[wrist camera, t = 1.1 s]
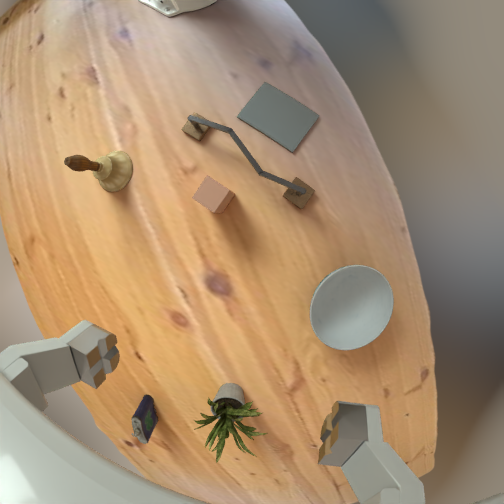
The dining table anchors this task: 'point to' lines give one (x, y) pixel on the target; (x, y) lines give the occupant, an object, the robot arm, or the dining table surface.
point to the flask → (144, 419)
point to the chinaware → (351, 307)
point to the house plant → (229, 417)
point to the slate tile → (278, 116)
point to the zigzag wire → (250, 159)
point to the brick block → (213, 195)
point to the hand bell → (105, 169)
